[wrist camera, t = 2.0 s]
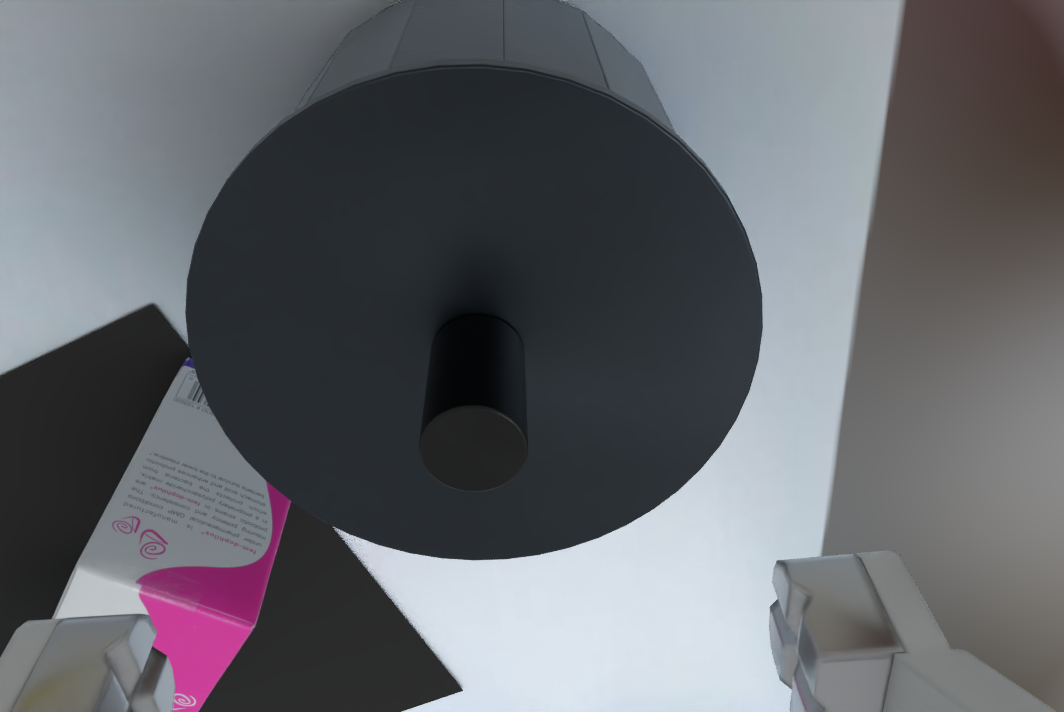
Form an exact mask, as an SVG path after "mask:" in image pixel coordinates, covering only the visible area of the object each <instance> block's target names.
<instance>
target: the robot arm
mask: <svg viewBox="0 0 1064 712" xmlns="http://www.w3.org/2000/svg"><path fill="white" fill-rule="evenodd" d="M772 583H773V586H774V589H775V592H776V594H777V597H778V599H777V600H776V601H775V602H774V603H773V604H772V605H771V606H770V617H769V631H770V642H771V649H772V654H773V658H774V662H775V666H776V669H777V672H778V675H779V679H780V680H781V681H782V682H783V683H784V684H785V685H787V686H788V687H789V688H790V689H792V693H791V702H790V712H1057V711H1055V710H1053V709H1052V708H1051V707H1049V706H1048V705H1046V704H1045V703H1043V702H1042V701H1040V700H1039V699H1037V698H1036V697H1034V696H1033V695H1031V694H1030V693H1028V692H1027V691H1025V690H1024V689H1022V688H1021V687H1020V686H1018V685H1017V684H1015V683H1014V682H1012V681H1010V680H1009V679H1008V678H1006V677H1005V676H1003V675H1002V674H1000V673H999V672H997V671H995V670H994V669H993V668H991V667H990V666H988V665H987V664H985V663H984V662H982V661H981V660H979V659H978V658H976V657H975V656H973V655H972V654H971V653H969V652H967V651H966V650H965V649H951V647H950V646H949V644H948V642H947V640H946V638H945V636H944V635H943V633H942V631H941V629H940V627H939V625H938V624H937V622H936V620H935V618H934V616H933V615H932V613H931V611H930V609H929V607H928V606H927V603H926V602H925V600H924V598H923V596H922V594H921V592H920V591H919V589H918V587H917V585H916V583H915V581H914V580H913V578H912V576H911V574H910V572H909V570H908V569H907V567H906V565H905V563H904V561H903V559H902V558H901V556H900V555H899V554H898V553H897V552H895V551H894V550H889V551H878V552H867V553H856V554H854V555H852V554H844V555H834V556H822V557H811V558H801V559H790V560H779V561H777V562H776V564H775V567H774V571H773V581H772ZM156 635H157V631H156V629H155V627H154V624H153V622H152V620H151V618H150V616H149V615H146V614H122V615H105V616H87V617H69V618H64V619H46V620H29V621H26V622H25V623H24V624H23V625H21V626H20V627H19V628H17V629H16V631H15V632H14V634H13V636H12V638H11V639H10V641H9V643H8V645H7V646H6V648H5V650H4V652H3V653H2V655H1V657H0V712H172V711H173V706H174V695H175V681H174V674H173V669H172V666H171V664H170V661H169V659H168V656H167V655H165V654H164V653H162V652H161V651H159V650H158V649H156V648H154V647H153V646H152V645H153V643H154V640H155V637H156Z"/></svg>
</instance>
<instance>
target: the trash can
mask: <svg viewBox="0 0 1064 712" xmlns="http://www.w3.org/2000/svg"><path fill="white" fill-rule="evenodd" d="M481 58H484V59H494V60H503V61H512V62H521V63H529V64H533V65H537V66H541V67H545V68H549V69H553V70H557V71H561V72H565V73H569V74H572V75H574V76H577V77H579V78H582V79H584V80H587V81H589V82H592V83H595V84H597V85H600V86H602V87H605V88H607V89H609V90H611V91H613V92H615V93H617V94H618V95H620V96H622V97H624V98H625V99H627V100H629V101H631V102H633V103H634V104H636V105H638V106H640V107H641V108H643V109H645V110H646V111H647V112H649V113H650V114H651V115H653V116H654V117H655V118H657V119H658V120H659V121H661V122H662V123H663V124H664V125H666V126H667V127H668V128H670V129H671V130H672V131H674V132H675V130H674V128H673V126H672V124H671V122H670V120H669V118H668V116H667V114H666V112H665V110H664V108H663V106H662V104H661V102H660V100H659V98H658V96H657V94H656V92H655V90H654V88H653V86H652V84H651V82H650V80H649V78H648V76H647V74H646V72H645V70H644V68H643V66H642V65H641V63H640V62H639V61H638V60H637V59H636V58H635V57H634V56H633V55H632V54H630V53H629V52H628V51H627V50H626V49H625V48H624V47H623V46H622V45H621V44H620V43H619V42H618V41H617V40H616V39H615V37H614V36H613V35H612V34H611V33H609V32H608V31H607V30H606V29H604V28H603V27H602V26H600V25H599V24H598V23H597V22H595V21H594V20H593V19H592V18H591V17H590V16H588V15H587V14H586V13H585V12H584V11H581V10H580V9H577V8H574V7H572V6H570V5H568V4H566V3H564V2H561V1H559V0H403V1H401V2H399V3H397V4H395V5H392V6H390V7H388V8H386V9H385V10H383V11H382V12H380V13H379V14H377V15H376V16H374V17H373V18H371V19H370V20H368V21H367V22H365V23H364V24H362V25H361V26H359V27H357V28H355V29H353V30H352V31H351V32H350V33H348V35H347V36H346V37H345V39H344V40H343V42H342V43H341V44H340V46H339V47H338V49H337V50H336V51H335V53H334V54H333V56H332V57H331V58H330V59H329V61H328V62H327V64H326V65H325V67H324V68H323V70H322V71H321V72H320V74H319V75H318V77H317V78H316V79H315V81H314V82H313V84H312V85H311V87H310V88H309V89H308V91H307V92H306V94H305V95H304V97H303V98H302V100H301V102H300V103H299V105H298V106H297V108H296V109H295V111H297V110H298V109H300V108H301V107H303V106H305V105H306V104H308V103H309V102H311V101H312V100H314V99H315V98H317V97H318V96H320V95H323V94H325V93H327V92H329V91H331V90H333V89H335V88H338V87H340V86H342V85H344V84H346V83H348V82H351V81H353V80H355V79H357V78H361V77H364V76H367V75H371V74H374V73H377V72H380V71H384V70H387V69H390V68H393V67H397V66H403V65H409V64H415V63H421V62H428V61H434V60H441V59H481ZM295 111H294V112H295ZM675 133H676V132H675Z"/></svg>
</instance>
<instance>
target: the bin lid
mask: <svg viewBox="0 0 1064 712" xmlns="http://www.w3.org/2000/svg"><path fill="white" fill-rule="evenodd" d="M185 313H186V323H187V333H188V343H189V348H190V352H191V356H192V360H193V364H194V368H195V372H196V376H197V379H198V381H199V384H200V386H201V388H202V391H203V393H204V396H205V398H206V400H207V403H208V405H209V408H210V409H211V411H212V413H213V414H214V416H215V418H216V419H217V421H218V423H219V425H220V426H221V428H222V430H223V431H224V433H225V435H226V436H227V437H228V439H229V440H230V441H231V443H232V444H233V445H234V446H235V448H236V449H237V450H238V451H239V453H240V454H241V455H242V457H243V458H244V459H245V460H246V461H247V462H248V463H249V464H250V465H251V466H252V467H253V468H254V469H255V470H256V471H257V472H258V473H259V474H260V475H261V476H262V477H263V478H264V479H265V480H266V481H267V482H268V483H269V484H270V485H271V486H272V487H274V488H275V489H276V490H277V491H279V492H280V493H281V494H283V495H284V496H285V497H286V498H288V499H289V500H290V501H291V502H293V503H294V504H296V505H297V506H299V507H300V508H302V509H304V510H305V511H307V512H308V513H310V514H312V515H313V516H315V517H316V518H318V519H320V520H321V521H324V522H326V523H328V524H330V525H332V526H334V527H336V528H338V529H340V530H342V531H344V532H346V533H348V534H350V535H353V536H356V537H359V538H361V539H364V540H367V541H369V542H372V543H375V544H378V545H381V546H385V547H388V548H392V549H396V550H400V551H404V552H408V553H412V554H419V555H425V556H431V557H438V558H447V559H463V560H495V559H511V558H518V557H526V556H534V555H540V554H544V553H548V552H553V551H557V550H562V549H566V548H570V547H573V546H576V545H579V544H581V543H584V542H587V541H590V540H593V539H596V538H599V537H601V536H603V535H606V534H608V533H610V532H612V531H614V530H617V529H619V528H621V527H623V526H625V525H627V524H629V523H631V522H632V521H634V520H636V519H637V518H639V517H641V516H643V515H644V514H646V513H648V512H649V511H651V510H653V509H654V508H656V507H657V506H658V505H660V504H661V503H662V502H664V501H665V500H666V499H668V498H669V497H670V496H672V495H673V494H674V493H676V492H677V491H678V490H679V489H680V488H681V487H682V486H683V485H684V484H686V483H687V482H688V481H689V480H690V479H691V478H692V477H693V476H694V475H695V474H696V473H697V472H698V471H699V470H700V469H701V468H702V467H703V466H704V464H705V463H706V462H707V461H708V460H709V458H710V457H711V456H712V455H713V453H714V452H715V451H716V450H717V449H718V447H719V446H720V445H721V443H722V442H723V440H724V438H725V437H726V435H727V434H728V432H729V430H730V429H731V427H732V426H733V424H734V422H735V421H736V419H737V417H738V415H739V413H740V410H741V408H742V406H743V404H744V402H745V399H746V397H747V395H748V393H749V390H750V387H751V383H752V380H753V376H754V373H755V370H756V366H757V363H758V358H759V351H760V344H761V336H762V329H763V324H762V293H761V287H760V281H759V275H758V269H757V263H756V260H755V257H754V254H753V251H752V248H751V245H750V242H749V239H748V236H747V233H746V230H745V228H744V226H743V225H742V223H741V221H740V219H739V217H738V215H737V213H736V211H735V209H734V207H733V205H732V203H731V201H730V199H729V198H728V196H727V194H726V192H725V190H724V189H723V188H722V186H721V185H720V183H719V182H718V181H717V179H716V178H715V177H714V175H713V174H712V172H711V171H710V170H709V168H708V167H707V166H706V164H705V163H704V161H703V160H702V159H701V158H700V157H699V156H698V155H697V154H696V153H695V152H694V151H693V150H692V149H691V148H690V147H689V146H688V145H687V144H686V143H685V142H684V141H683V140H682V139H681V138H680V137H679V136H678V135H677V134H676V133H675V132H674V131H672V130H671V129H670V128H668V127H667V126H666V125H664V124H663V123H662V122H661V121H659V120H658V119H657V118H655V117H654V116H653V115H651V114H650V113H649V112H647V111H646V110H645V109H643V108H641V107H640V106H638V105H636V104H634V103H633V102H631V101H629V100H627V99H625V98H624V97H622V96H620V95H618V94H617V93H615V92H613V91H611V90H609V89H607V88H605V87H602V86H600V85H597V84H595V83H592V82H589V81H587V80H584V79H582V78H579V77H577V76H574V75H572V74H569V73H565V72H561V71H557V70H553V69H549V68H545V67H541V66H537V65H533V64H529V63H521V62H512V61H503V60H494V59H484V58H481V59H441V60H434V61H428V62H421V63H415V64H409V65H403V66H397V67H393V68H390V69H387V70H384V71H380V72H377V73H374V74H371V75H367V76H364V77H361V78H357V79H355V80H353V81H351V82H348V83H346V84H344V85H342V86H340V87H338V88H335V89H333V90H331V91H329V92H327V93H325V94H323V95H320V96H318V97H317V98H315V99H314V100H312V101H311V102H309V103H308V104H306V105H305V106H303V107H301V108H300V109H298V110H297V111H295V112H294V113H292V114H291V115H289V116H288V117H286V118H285V119H283V120H282V121H281V122H280V123H279V124H278V125H277V126H276V127H274V128H273V129H272V130H271V131H270V132H269V133H268V134H267V135H265V136H264V137H263V138H262V139H261V140H260V141H259V142H258V143H257V144H255V146H254V147H253V148H252V149H251V150H250V152H249V153H248V154H247V155H246V156H245V158H244V159H243V160H242V161H241V162H240V164H239V165H238V166H237V167H236V168H235V170H234V171H233V172H232V173H231V175H230V176H229V178H228V179H227V180H226V182H225V184H224V186H223V187H222V189H221V191H220V192H219V194H218V196H217V197H216V199H215V201H214V202H213V204H212V206H211V207H210V209H209V211H208V213H207V215H206V218H205V220H204V223H203V225H202V228H201V230H200V233H199V235H198V238H197V241H196V243H195V246H194V250H193V255H192V260H191V264H190V269H189V273H188V278H187V293H186V311H185Z"/></svg>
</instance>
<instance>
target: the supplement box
mask: <svg viewBox="0 0 1064 712" xmlns="http://www.w3.org/2000/svg"><path fill="white" fill-rule="evenodd" d="M290 503H291V501H290V500H289V499H288V498H286V497H285V496H284V495H283V494H281V493H280V492H279V491H277V490H276V489H275V488H274V487H272V486H271V485H270V484H269V483H268V482H267V481H266V480H265V479H264V478H263V477H262V476H261V475H260V474H259V473H258V472H257V471H256V470H255V469H254V468H253V467H252V466H251V465H250V464H249V463H248V462H247V461H246V460H245V459H244V458H243V457H242V455H241V454H240V453H239V451H238V450H237V449H236V448H235V446H234V445H233V444H232V443H231V441H230V440H229V439H228V437H227V436H226V435H225V433H224V431H223V430H222V428H221V426H220V425H219V423H218V421H217V419H216V418H215V416H214V414H213V413H212V411H211V409H210V408H209V405H208V403H207V400H206V398H205V396H204V393H203V391H202V388H201V386H200V384H199V381H198V379H197V376H196V372H195V368H194V364H193V360H192V359H191V358H189V357H188V358H187V359H186V360H185V362H184V363H183V364H182V366H181V368H180V370H179V372H178V373H177V375H176V377H175V379H174V381H173V382H172V384H171V386H170V388H169V390H168V392H167V394H166V395H165V397H164V399H163V401H162V403H161V405H160V406H159V408H158V410H157V412H156V414H155V416H154V418H153V420H152V422H151V424H150V426H149V428H148V430H147V432H146V433H145V435H144V437H143V439H142V441H141V443H140V445H139V447H138V449H137V451H136V453H135V455H134V456H133V458H132V460H131V462H130V464H129V466H128V468H127V470H126V471H125V473H124V475H123V477H122V479H121V481H120V483H119V485H118V487H117V488H116V490H115V492H114V494H113V496H112V498H111V500H110V502H109V504H108V505H107V507H106V509H105V511H104V513H103V515H102V517H101V519H100V521H99V522H98V524H97V526H96V528H95V530H94V532H93V534H92V536H91V538H90V539H89V541H88V543H87V545H86V547H85V549H84V551H83V553H82V554H81V556H80V558H79V560H78V562H77V564H76V566H75V568H74V570H73V572H72V574H71V576H70V579H69V581H68V583H67V585H66V588H65V590H64V592H63V595H62V597H61V599H60V602H59V604H58V606H57V608H56V611H55V613H54V615H53V617H52V619H64V618H69V617H87V616H105V615H122V614H146V615H149V616H150V618H151V620H152V622H153V624H154V627H155V629H156V631H157V635H156V637H155V640H154V643H153V645H152V646H153V647H154V648H156V649H158V650H159V651H161V652H162V653H164V654H165V655H167V656H168V659H169V661H170V664H171V666H172V669H173V674H174V681H175V695H174V706H173V711H172V712H198V711H199V710H200V708H201V707H202V705H203V703H204V702H205V700H206V699H207V697H208V696H209V694H210V693H211V691H212V690H213V688H214V687H215V685H216V684H217V682H218V681H219V679H220V678H221V677H222V675H223V674H224V672H225V671H226V669H227V667H228V666H229V665H230V663H231V662H232V660H233V659H234V657H235V656H236V654H237V653H238V652H239V650H240V648H241V647H242V645H243V644H244V642H245V641H246V640H247V638H248V637H249V635H250V634H251V632H252V631H253V629H254V628H255V626H256V623H257V620H258V616H259V613H260V609H261V605H262V602H263V598H264V595H265V591H266V587H267V583H268V580H269V576H270V573H271V569H272V566H273V562H274V559H275V556H276V552H277V549H278V546H279V542H280V538H281V535H282V531H283V528H284V524H285V521H286V517H287V513H288V510H289V506H290Z"/></svg>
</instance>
